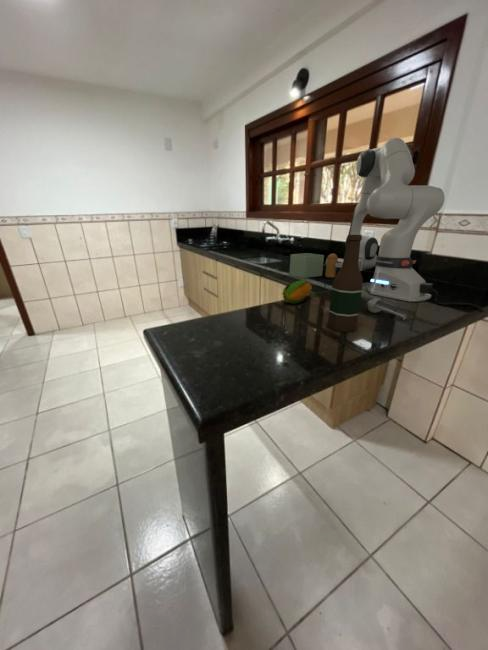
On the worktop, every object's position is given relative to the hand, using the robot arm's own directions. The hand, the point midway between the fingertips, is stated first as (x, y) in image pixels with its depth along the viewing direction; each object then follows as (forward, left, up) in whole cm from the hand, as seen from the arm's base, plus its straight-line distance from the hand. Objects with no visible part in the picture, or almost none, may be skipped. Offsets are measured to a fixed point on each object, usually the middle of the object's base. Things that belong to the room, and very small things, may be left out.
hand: (330, 264), depth 137 cm
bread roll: (0, -1, -6) cm, 6 cm away
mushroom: (-54, +31, -7) cm, 63 cm away
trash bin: (+9, +8, -6) cm, 14 cm away
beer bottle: (-55, +51, -7) cm, 75 cm away
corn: (-28, +44, -7) cm, 53 cm away
